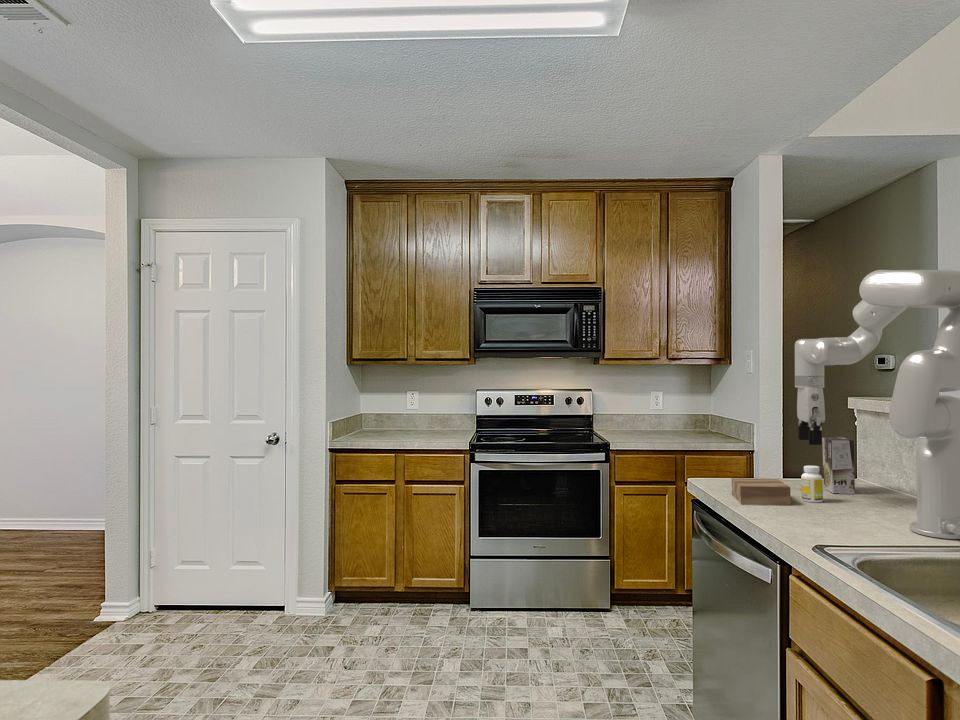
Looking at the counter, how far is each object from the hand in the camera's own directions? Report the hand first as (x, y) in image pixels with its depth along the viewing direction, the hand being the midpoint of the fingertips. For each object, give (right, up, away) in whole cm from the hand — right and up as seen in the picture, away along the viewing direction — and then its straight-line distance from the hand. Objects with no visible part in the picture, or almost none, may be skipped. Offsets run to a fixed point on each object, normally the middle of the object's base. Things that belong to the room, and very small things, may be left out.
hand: (809, 442), depth 187 cm
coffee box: (+15, -17, +12) cm, 25 cm away
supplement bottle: (0, -17, -1) cm, 17 cm away
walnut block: (-13, -17, +2) cm, 22 cm away
